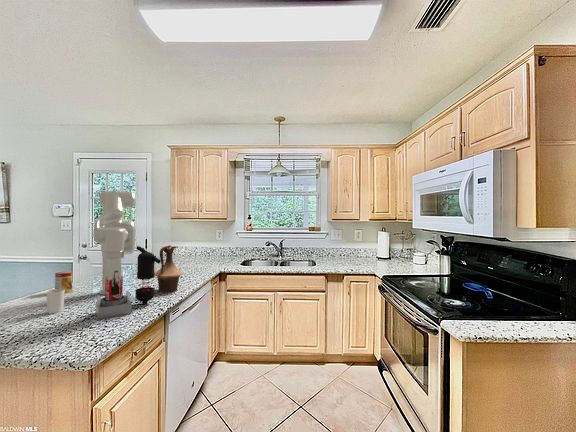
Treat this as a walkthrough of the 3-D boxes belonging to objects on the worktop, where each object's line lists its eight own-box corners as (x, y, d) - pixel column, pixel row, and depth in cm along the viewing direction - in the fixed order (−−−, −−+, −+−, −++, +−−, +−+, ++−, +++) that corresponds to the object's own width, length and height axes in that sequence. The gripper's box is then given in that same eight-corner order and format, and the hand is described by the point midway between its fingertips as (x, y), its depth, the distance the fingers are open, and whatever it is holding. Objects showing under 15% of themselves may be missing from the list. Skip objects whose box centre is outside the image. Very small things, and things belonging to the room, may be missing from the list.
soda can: (125, 297, 138) (125, 272, 138) (117, 302, 131) (117, 275, 131) (110, 297, 138) (110, 272, 137) (101, 301, 130) (101, 275, 130)
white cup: (49, 310, 136) (50, 289, 136) (66, 308, 139) (67, 288, 139) (43, 314, 130) (43, 292, 130) (61, 313, 132) (61, 291, 133)
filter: (129, 305, 145) (130, 246, 145) (140, 300, 154) (142, 245, 154) (153, 307, 143) (155, 247, 143) (164, 302, 152) (165, 245, 152)
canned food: (75, 290, 171) (75, 270, 171) (63, 294, 163) (64, 273, 164) (63, 290, 172) (63, 270, 172) (51, 293, 164) (51, 272, 164)
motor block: (95, 312, 134) (95, 293, 134) (126, 307, 142) (127, 289, 142) (98, 319, 125) (98, 298, 126) (131, 313, 134) (131, 294, 134)
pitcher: (171, 294, 166) (172, 246, 166) (145, 292, 170) (146, 245, 170) (188, 287, 183) (188, 244, 184) (164, 286, 187) (165, 243, 187)
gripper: (102, 253, 138) (101, 290, 138) (108, 257, 125) (107, 298, 125) (120, 252, 143) (119, 287, 143) (127, 256, 130) (126, 295, 130)
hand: (113, 292), depth 134 cm, fingers closed on soda can, 7 cm apart
